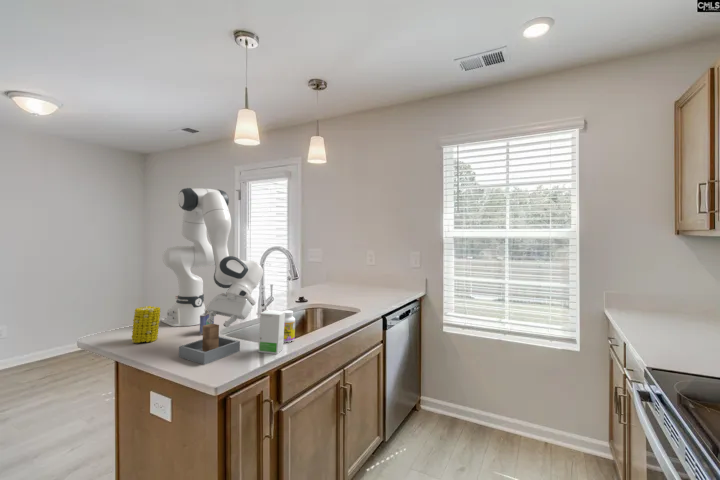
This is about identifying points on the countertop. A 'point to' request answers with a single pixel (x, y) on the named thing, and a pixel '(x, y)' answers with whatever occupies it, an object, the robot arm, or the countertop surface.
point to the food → (145, 324)
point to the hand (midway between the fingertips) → (217, 324)
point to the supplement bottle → (289, 326)
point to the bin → (197, 355)
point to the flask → (204, 320)
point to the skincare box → (271, 331)
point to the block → (210, 337)
